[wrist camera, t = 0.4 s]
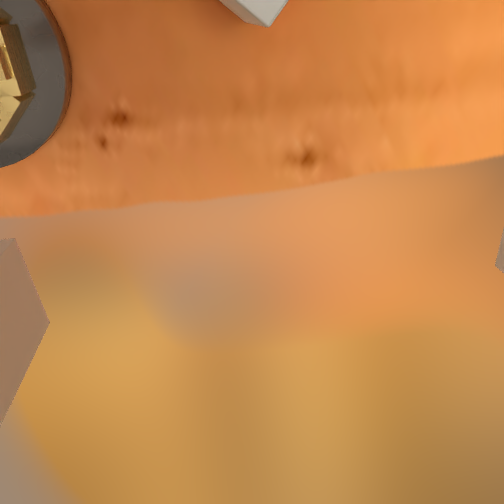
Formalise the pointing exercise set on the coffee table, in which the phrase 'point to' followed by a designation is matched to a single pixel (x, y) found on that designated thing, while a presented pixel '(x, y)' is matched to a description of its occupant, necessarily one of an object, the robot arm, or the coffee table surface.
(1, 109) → the ball lever
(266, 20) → the skincare box
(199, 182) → the coffee table surface
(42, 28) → the housing
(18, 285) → the robot arm
